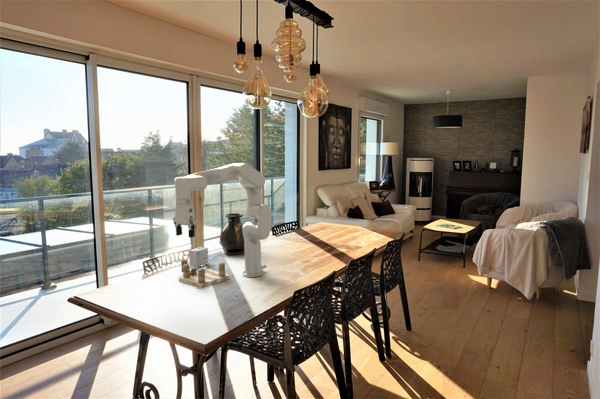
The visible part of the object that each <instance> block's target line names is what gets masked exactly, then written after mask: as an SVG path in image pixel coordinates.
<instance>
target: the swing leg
mask: <svg viewBox="0 0 600 399" xmlns="http://www.w3.org/2000/svg"><path fill="white" fill-rule="evenodd" d="M188 260H189V259H181V260H180V262H181V264H180V265H181V273H183V265H184V264H189V263H188V262H189V261H188ZM190 268H191V269H190V274H191V275H197V272H198V267H197V268H196V267H190Z"/></svg>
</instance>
